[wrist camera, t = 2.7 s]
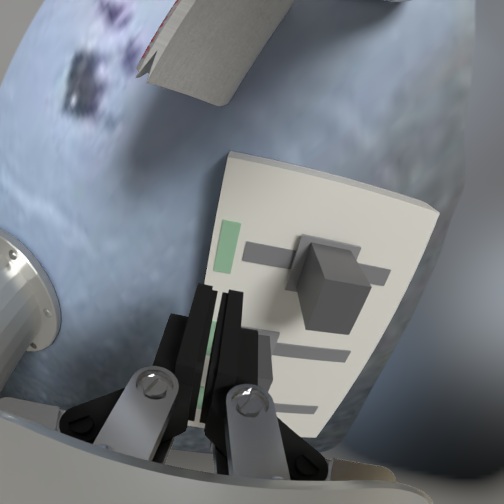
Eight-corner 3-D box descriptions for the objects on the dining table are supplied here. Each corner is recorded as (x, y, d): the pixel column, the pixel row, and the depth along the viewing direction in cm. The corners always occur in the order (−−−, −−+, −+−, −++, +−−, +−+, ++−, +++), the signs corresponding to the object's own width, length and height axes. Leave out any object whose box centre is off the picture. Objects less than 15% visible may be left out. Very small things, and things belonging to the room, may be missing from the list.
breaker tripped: (339, 297, 19) (356, 340, 16) (284, 288, 19) (292, 332, 15) (360, 246, 18) (385, 283, 14) (301, 233, 17) (315, 270, 14)
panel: (313, 421, 30) (316, 438, 28) (186, 408, 28) (184, 425, 26) (425, 202, 19) (440, 213, 17) (229, 150, 18) (227, 157, 16)
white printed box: (289, 9, 14) (332, -72, 5) (228, 104, 16) (204, 110, 7) (231, -19, 13) (217, -115, 4) (170, 76, 16) (89, 58, 7)
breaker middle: (266, 367, 22) (268, 412, 19) (216, 360, 22) (212, 405, 18) (279, 331, 21) (284, 377, 17) (224, 323, 20) (221, 369, 17)
